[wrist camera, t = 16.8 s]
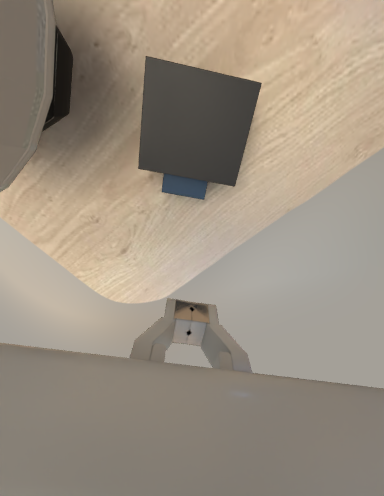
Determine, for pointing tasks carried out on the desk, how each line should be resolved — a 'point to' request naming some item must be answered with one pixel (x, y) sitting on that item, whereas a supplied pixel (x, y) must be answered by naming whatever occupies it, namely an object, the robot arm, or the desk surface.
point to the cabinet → (195, 121)
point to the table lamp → (30, 80)
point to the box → (184, 186)
